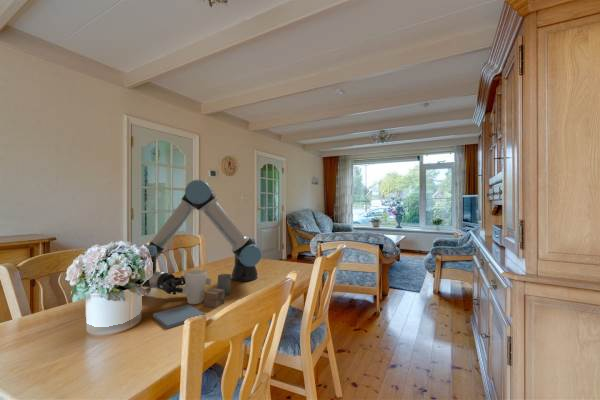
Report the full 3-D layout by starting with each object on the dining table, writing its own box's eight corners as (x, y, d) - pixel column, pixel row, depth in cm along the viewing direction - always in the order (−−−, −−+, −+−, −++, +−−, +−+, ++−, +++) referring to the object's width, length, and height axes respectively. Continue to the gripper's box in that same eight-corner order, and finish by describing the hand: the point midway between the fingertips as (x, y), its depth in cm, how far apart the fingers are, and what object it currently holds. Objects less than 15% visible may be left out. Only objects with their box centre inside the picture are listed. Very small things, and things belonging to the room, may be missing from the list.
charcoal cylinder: (226, 291, 136) (226, 273, 136) (232, 294, 131) (233, 275, 132) (215, 293, 131) (215, 275, 131) (221, 297, 127) (222, 277, 127)
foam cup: (198, 296, 127) (199, 268, 128) (210, 300, 122) (211, 271, 122) (179, 302, 120) (180, 272, 120) (191, 307, 114) (192, 276, 114)
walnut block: (212, 301, 122) (213, 288, 122) (224, 303, 120) (224, 289, 120) (204, 306, 116) (204, 292, 116) (215, 308, 114) (216, 294, 114)
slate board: (188, 307, 115) (188, 304, 115) (204, 316, 105) (204, 313, 105) (152, 316, 104) (152, 313, 104) (167, 328, 95) (167, 325, 95)
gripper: (182, 281, 139) (217, 286, 132) (139, 297, 115) (179, 304, 108) (182, 267, 139) (217, 271, 132) (139, 280, 115) (179, 285, 108)
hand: (200, 286), depth 120 cm, fingers open, 13 cm apart
